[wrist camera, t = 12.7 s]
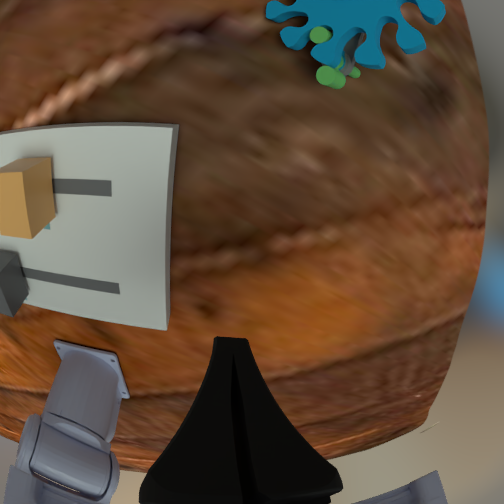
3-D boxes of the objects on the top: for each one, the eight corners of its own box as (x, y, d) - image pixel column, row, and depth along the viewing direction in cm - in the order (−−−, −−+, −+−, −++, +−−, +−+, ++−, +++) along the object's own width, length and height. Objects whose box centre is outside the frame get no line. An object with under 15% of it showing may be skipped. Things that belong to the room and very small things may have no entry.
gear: (280, -76, 7) (452, -59, 2) (327, -39, 11) (461, -8, 6) (234, 61, 13) (405, 119, 9) (291, 75, 17) (421, 129, 13)
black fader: (28, 294, 18) (13, 317, 15) (6, 288, 17) (-9, 309, 15) (16, 254, 16) (-4, 276, 13) (-6, 250, 15) (-26, 270, 13)
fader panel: (170, 313, 23) (166, 331, 21) (-13, 278, 19) (-22, 289, 17) (179, 124, 15) (172, 128, 13) (-40, 140, 12) (-55, 146, 10)
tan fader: (55, 216, 15) (32, 239, 12) (24, 214, 14) (0, 235, 12) (50, 157, 13) (22, 171, 10) (18, 158, 12) (-10, 173, 10)
